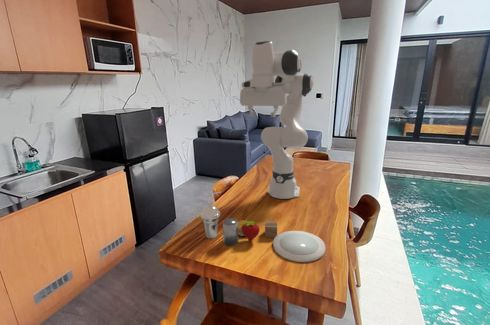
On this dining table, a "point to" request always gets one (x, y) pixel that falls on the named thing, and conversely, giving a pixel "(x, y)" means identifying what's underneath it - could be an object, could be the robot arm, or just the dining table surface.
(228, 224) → the drinking glass
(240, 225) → the bread roll
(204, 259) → the dining table surface
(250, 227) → the strawberry
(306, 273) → the dining table surface
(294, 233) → the plate
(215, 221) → the cup with straw
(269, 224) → the walnut block
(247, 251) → the dining table surface
